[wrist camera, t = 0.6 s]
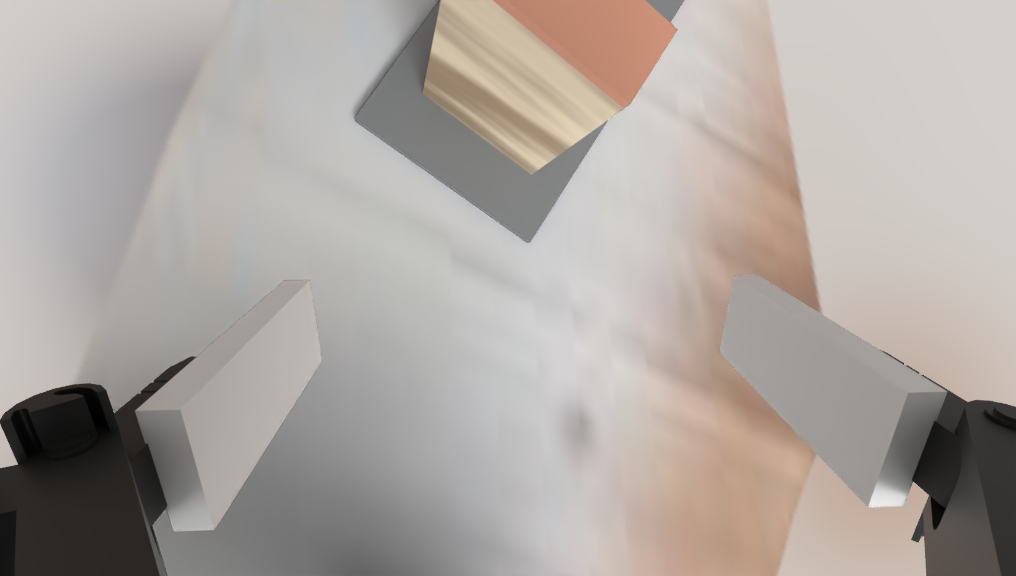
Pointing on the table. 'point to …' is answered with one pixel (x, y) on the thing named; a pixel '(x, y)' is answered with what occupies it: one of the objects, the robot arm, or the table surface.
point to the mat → (468, 141)
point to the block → (541, 68)
